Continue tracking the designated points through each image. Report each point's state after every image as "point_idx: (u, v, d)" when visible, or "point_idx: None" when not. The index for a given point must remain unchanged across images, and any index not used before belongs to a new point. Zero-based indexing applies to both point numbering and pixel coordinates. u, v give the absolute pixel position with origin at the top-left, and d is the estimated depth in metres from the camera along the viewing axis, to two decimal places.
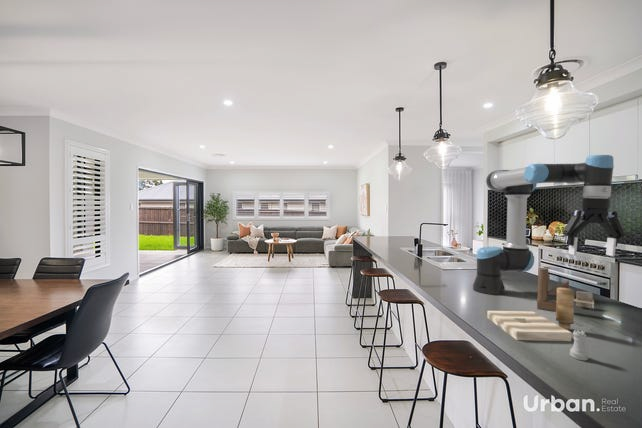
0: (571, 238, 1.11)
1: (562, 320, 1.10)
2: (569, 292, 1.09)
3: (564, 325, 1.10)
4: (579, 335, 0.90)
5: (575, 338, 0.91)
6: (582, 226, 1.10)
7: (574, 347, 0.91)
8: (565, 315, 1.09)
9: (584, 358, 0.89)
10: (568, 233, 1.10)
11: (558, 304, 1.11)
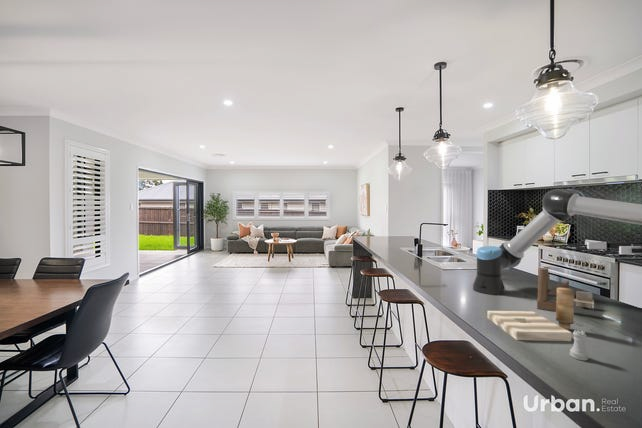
0: None
1: (562, 320, 1.10)
2: (569, 292, 1.09)
3: (564, 325, 1.10)
4: (579, 335, 0.90)
5: (575, 338, 0.91)
6: None
7: (574, 347, 0.91)
8: (565, 315, 1.09)
9: (584, 358, 0.89)
10: None
11: (558, 304, 1.11)
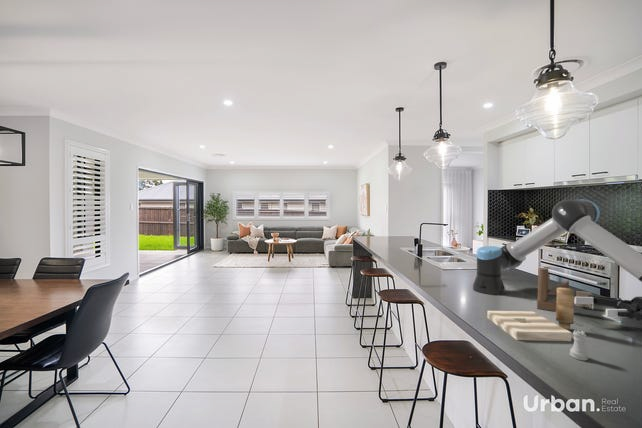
0: (628, 316, 1.02)
1: (562, 320, 1.10)
2: (569, 292, 1.09)
3: (564, 325, 1.10)
4: (579, 335, 0.90)
5: (575, 338, 0.91)
6: None
7: (574, 347, 0.91)
8: (565, 315, 1.09)
9: (584, 358, 0.89)
10: None
11: (558, 304, 1.11)
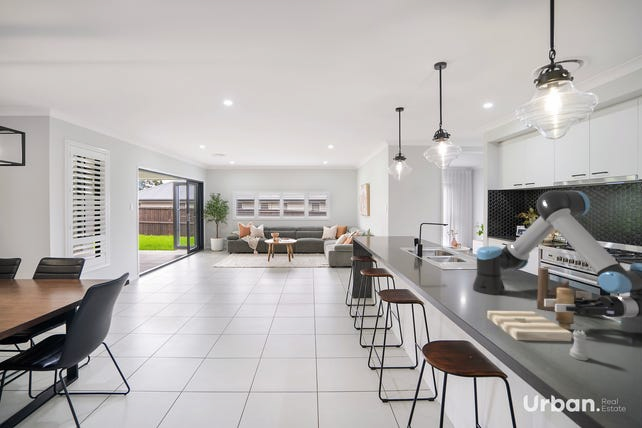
0: None
1: (562, 320, 1.10)
2: (569, 292, 1.08)
3: (564, 325, 1.10)
4: (579, 335, 0.90)
5: (575, 338, 0.91)
6: None
7: (574, 347, 0.91)
8: (565, 316, 1.09)
9: (584, 358, 0.89)
10: (584, 314, 1.05)
11: None
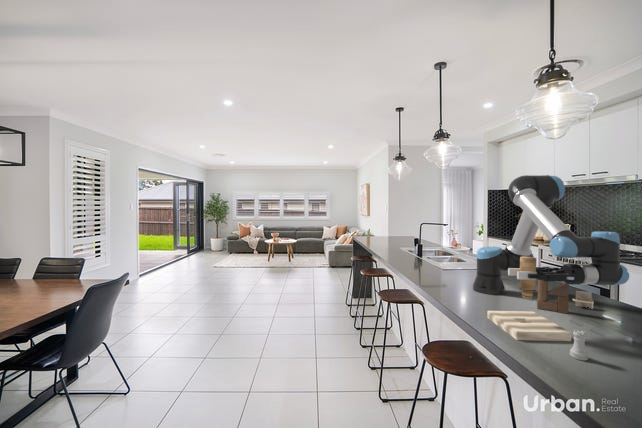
0: None
1: (524, 288, 1.10)
2: (531, 259, 1.08)
3: (527, 293, 1.10)
4: (579, 335, 0.90)
5: (575, 338, 0.91)
6: None
7: (574, 347, 0.91)
8: (527, 283, 1.09)
9: (584, 358, 0.89)
10: None
11: None
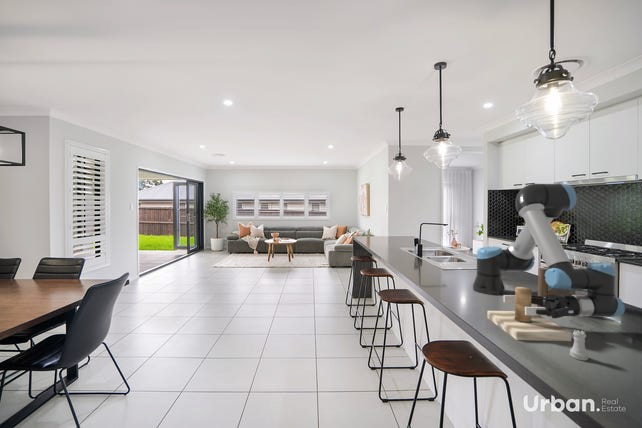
0: None
1: (520, 319, 1.11)
2: (526, 291, 1.09)
3: None
4: (579, 335, 0.90)
5: (575, 338, 0.91)
6: None
7: (574, 347, 0.91)
8: (522, 315, 1.10)
9: (584, 358, 0.89)
10: None
11: (516, 303, 1.12)
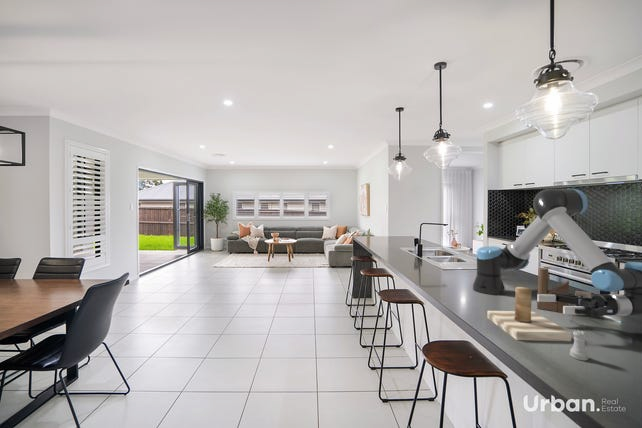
0: (584, 313, 1.03)
1: (520, 319, 1.11)
2: (526, 291, 1.09)
3: None
4: (579, 335, 0.90)
5: (575, 338, 0.91)
6: None
7: (574, 347, 0.91)
8: (522, 315, 1.10)
9: (584, 358, 0.89)
10: None
11: (516, 303, 1.12)
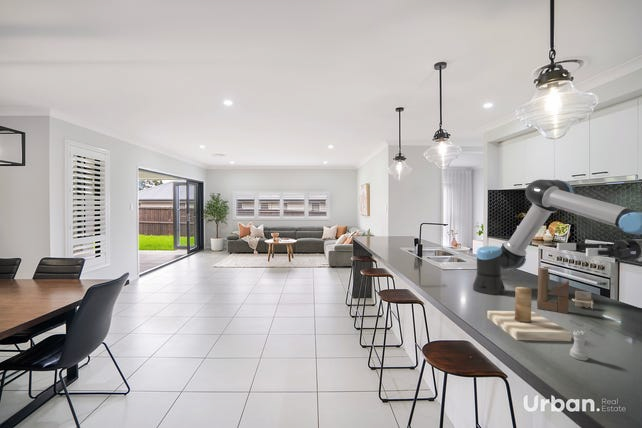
0: (608, 254, 1.02)
1: (520, 319, 1.11)
2: (526, 291, 1.09)
3: None
4: (579, 335, 0.90)
5: (575, 338, 0.91)
6: None
7: (574, 347, 0.91)
8: (522, 315, 1.10)
9: (584, 358, 0.89)
10: None
11: (516, 303, 1.12)
